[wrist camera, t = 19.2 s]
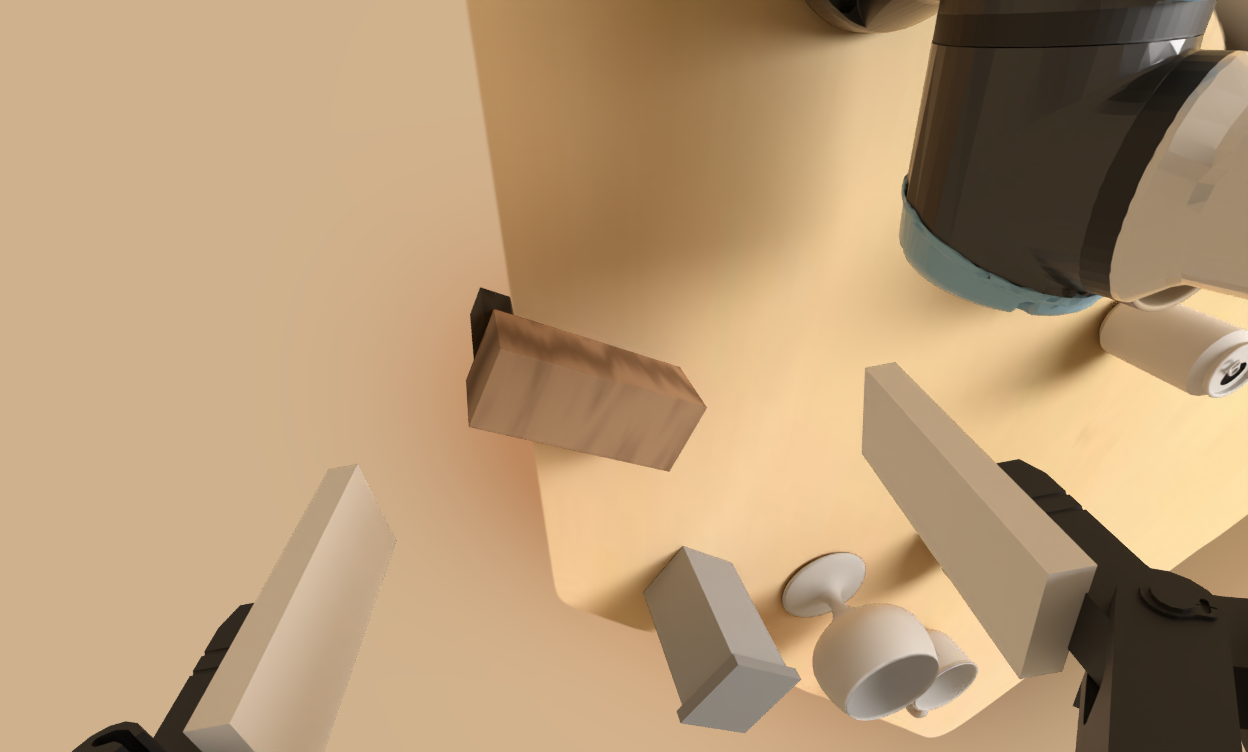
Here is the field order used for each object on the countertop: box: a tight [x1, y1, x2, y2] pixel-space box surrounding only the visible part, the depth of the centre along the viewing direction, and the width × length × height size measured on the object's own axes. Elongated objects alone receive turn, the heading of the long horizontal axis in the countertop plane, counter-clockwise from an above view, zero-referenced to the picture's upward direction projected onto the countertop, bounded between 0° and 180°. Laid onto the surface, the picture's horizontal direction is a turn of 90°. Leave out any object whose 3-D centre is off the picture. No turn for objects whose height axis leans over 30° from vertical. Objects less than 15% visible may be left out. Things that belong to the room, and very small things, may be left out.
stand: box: [643, 546, 801, 733], centre depth 65 cm, size 9×9×16 cm
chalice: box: [782, 553, 939, 720], centre depth 73 cm, size 14×14×15 cm
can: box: [1099, 303, 1248, 398], centre depth 63 cm, size 8×8×12 cm
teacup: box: [906, 629, 978, 718], centre depth 91 cm, size 14×11×8 cm
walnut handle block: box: [466, 288, 707, 472], centre depth 54 cm, size 16×7×18 cm
